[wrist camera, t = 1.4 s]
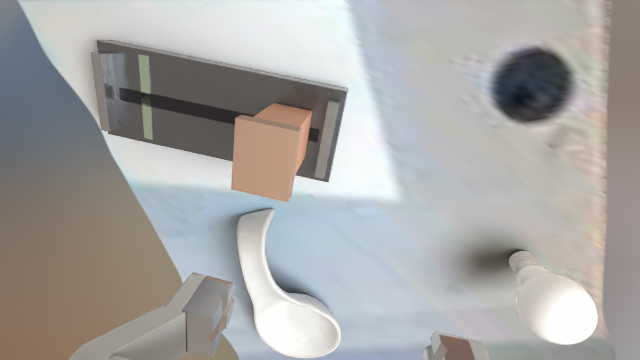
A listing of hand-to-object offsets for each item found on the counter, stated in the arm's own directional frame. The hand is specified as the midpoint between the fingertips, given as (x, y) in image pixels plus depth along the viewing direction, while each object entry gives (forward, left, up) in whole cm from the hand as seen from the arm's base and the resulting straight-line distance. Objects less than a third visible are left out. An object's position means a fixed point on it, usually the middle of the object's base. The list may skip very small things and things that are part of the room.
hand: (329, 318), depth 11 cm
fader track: (-8, -13, -25) cm, 29 cm away
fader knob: (-3, -6, -23) cm, 24 cm away
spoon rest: (+17, -17, -26) cm, 35 cm away
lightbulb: (+22, +12, -26) cm, 36 cm away
